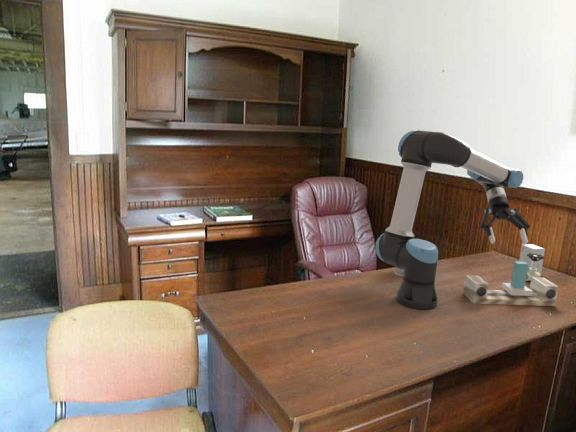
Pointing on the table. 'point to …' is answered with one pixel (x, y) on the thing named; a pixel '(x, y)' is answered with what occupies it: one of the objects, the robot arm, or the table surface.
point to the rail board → (480, 294)
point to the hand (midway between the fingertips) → (509, 242)
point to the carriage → (518, 281)
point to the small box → (532, 249)
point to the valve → (533, 266)
